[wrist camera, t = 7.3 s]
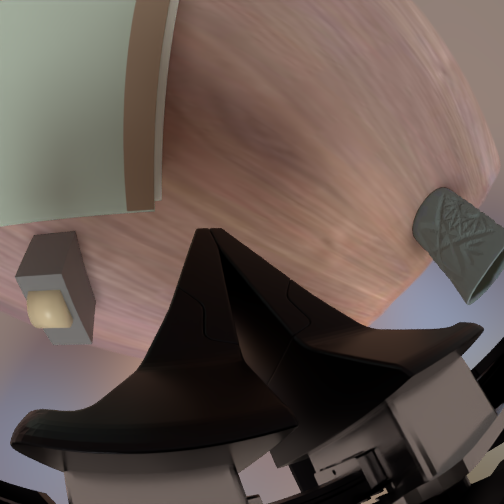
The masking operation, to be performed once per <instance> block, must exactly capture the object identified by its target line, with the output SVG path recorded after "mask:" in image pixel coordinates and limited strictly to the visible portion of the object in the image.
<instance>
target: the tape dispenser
mask: <svg viewBox="0 0 504 504" xmlns="http://www.w3.org/2000/svg"><path fill="white" fill-rule="evenodd" d="M15 278H16V280H17V282H18V284H19V286H20V288H21V290H22V292H23V294H24V296H25V298H26V300H27V311H28V315H29V318H30V321H31V323H32V324H33V326H34V327H36V328H43V330H44V332H45V333H46V335H47V336H48V338H49V340H50V341H51V342H52V344H53V345H75V344H76V345H77V344H92V341H93V326H94V314H95V305H96V300H95V297H94V295H93V292H92V289H91V286H90V282H89V279H88V276H87V273H86V270H85V266H84V263H83V259H82V256H81V252H80V248H79V244H78V240H77V236H76V232H75V231H70V232H60V233H51V234H41V235H34V236H33V238H32V240H31V242H30V245H29V247H28V249H27V251H26V253H25V255H24V257H23V260H22V262H21V264H20V266H19V269H18V271H17V273H16V276H15Z"/></svg>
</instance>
